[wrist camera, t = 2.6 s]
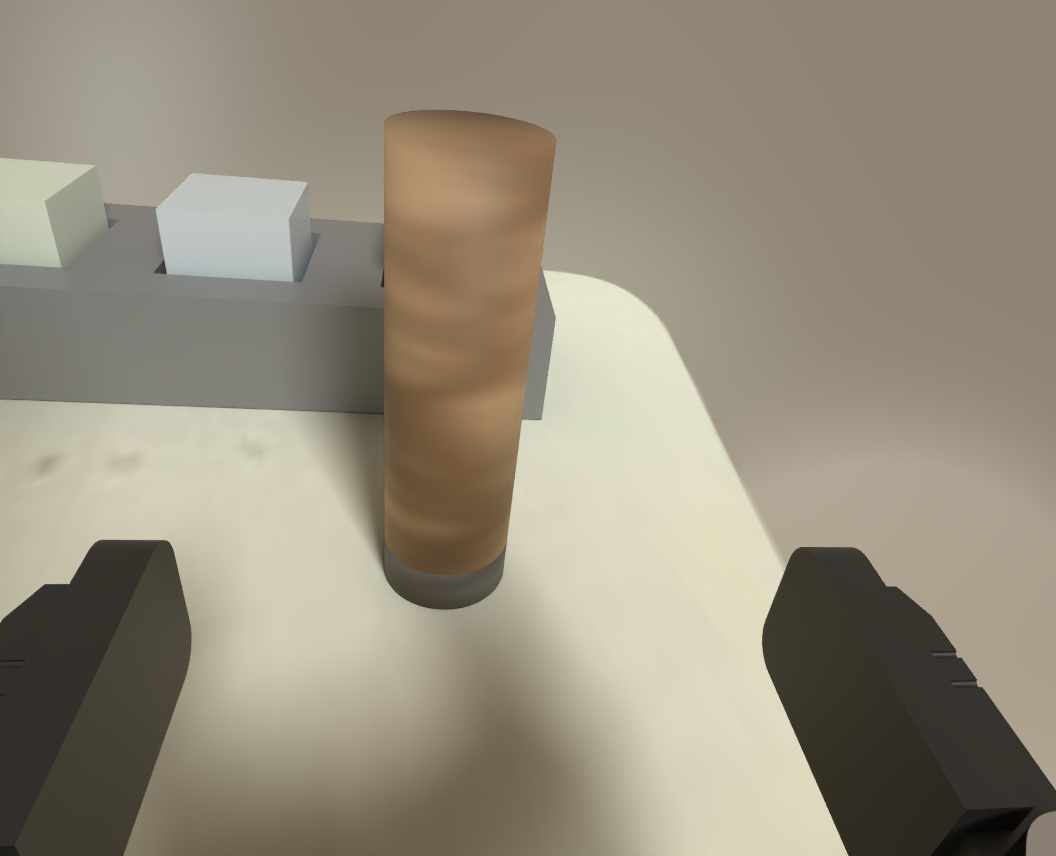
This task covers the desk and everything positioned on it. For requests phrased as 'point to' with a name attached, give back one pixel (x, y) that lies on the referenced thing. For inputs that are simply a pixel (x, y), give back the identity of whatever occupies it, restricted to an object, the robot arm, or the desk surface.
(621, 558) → the desk surface
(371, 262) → the key console
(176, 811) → the desk surface
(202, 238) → the grey-blue key
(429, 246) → the brown wooden cylinder
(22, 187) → the sage key
